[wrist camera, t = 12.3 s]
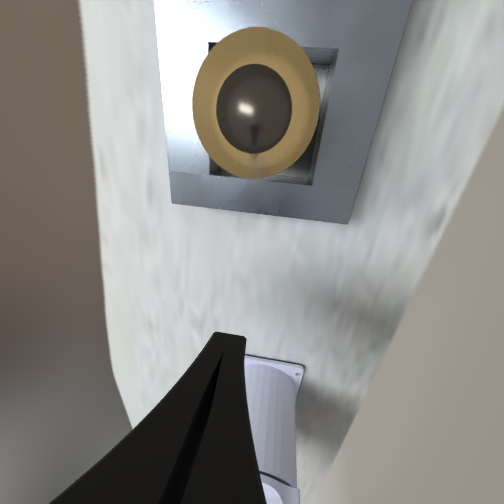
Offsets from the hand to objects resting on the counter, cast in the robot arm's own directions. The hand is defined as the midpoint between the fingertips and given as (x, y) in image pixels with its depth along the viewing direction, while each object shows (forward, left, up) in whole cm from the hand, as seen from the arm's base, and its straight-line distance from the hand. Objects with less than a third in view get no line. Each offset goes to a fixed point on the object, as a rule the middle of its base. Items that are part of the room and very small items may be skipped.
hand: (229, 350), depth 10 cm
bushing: (+9, 0, -9) cm, 13 cm away
